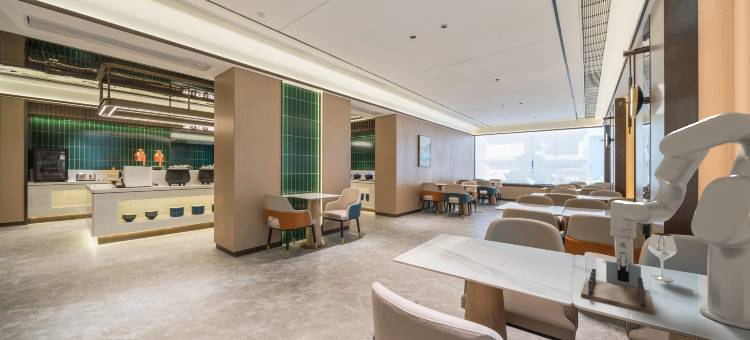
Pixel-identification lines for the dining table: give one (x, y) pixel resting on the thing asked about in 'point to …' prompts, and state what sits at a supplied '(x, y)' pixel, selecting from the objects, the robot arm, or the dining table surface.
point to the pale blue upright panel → (613, 273)
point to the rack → (618, 294)
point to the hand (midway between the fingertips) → (623, 279)
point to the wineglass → (662, 250)
